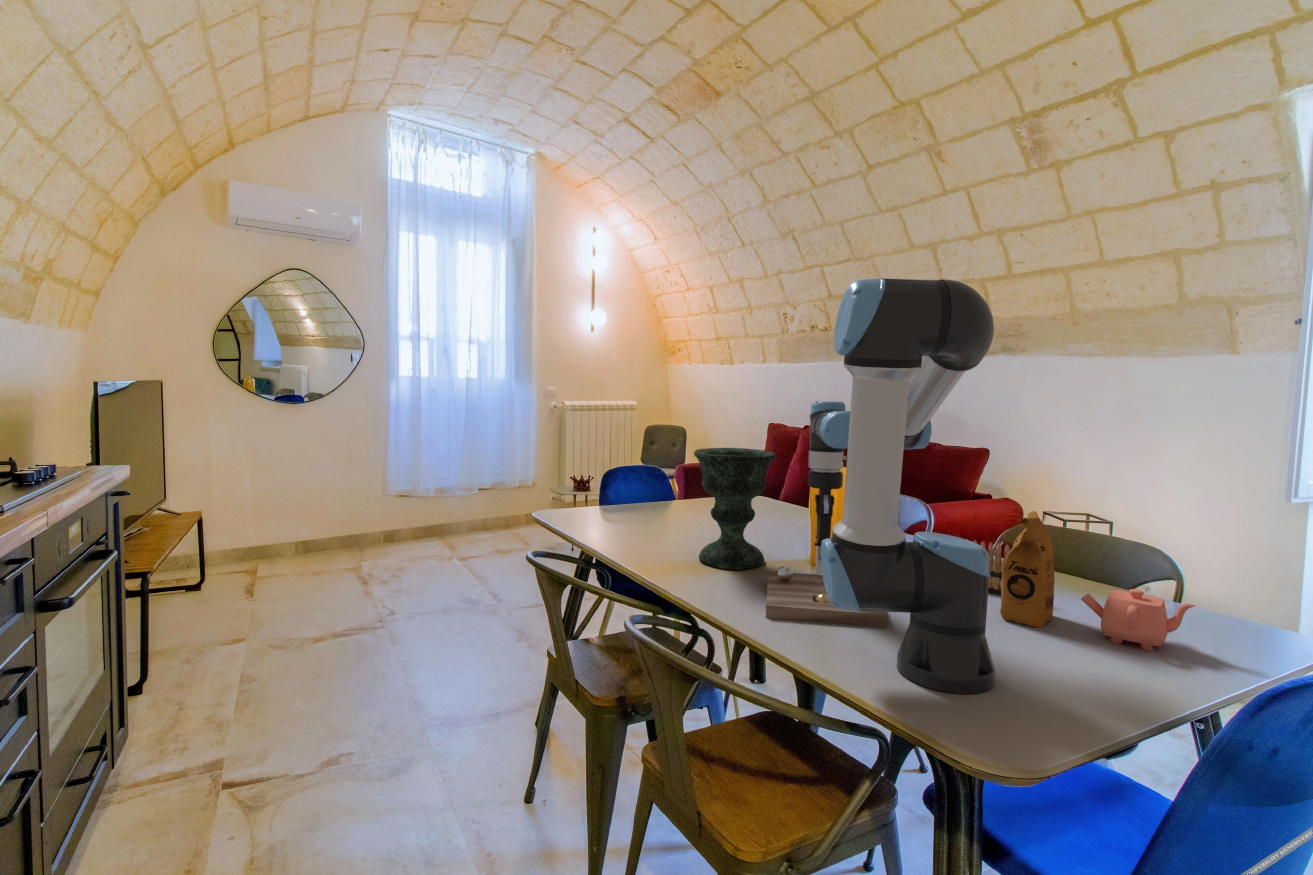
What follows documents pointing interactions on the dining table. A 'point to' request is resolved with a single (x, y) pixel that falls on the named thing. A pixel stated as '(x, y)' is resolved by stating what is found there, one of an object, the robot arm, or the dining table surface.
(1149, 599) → the teapot
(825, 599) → the brass ball
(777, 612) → the hole plate
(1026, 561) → the coffee package
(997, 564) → the ammunition clip
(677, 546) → the dining table surface
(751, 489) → the goblet
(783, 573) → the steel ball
